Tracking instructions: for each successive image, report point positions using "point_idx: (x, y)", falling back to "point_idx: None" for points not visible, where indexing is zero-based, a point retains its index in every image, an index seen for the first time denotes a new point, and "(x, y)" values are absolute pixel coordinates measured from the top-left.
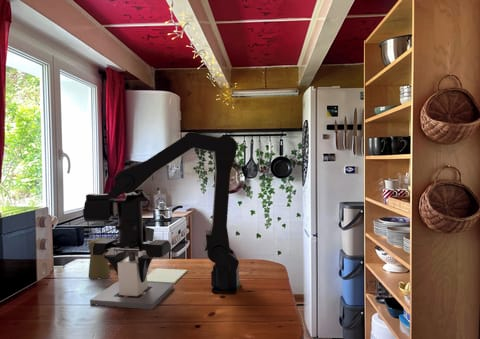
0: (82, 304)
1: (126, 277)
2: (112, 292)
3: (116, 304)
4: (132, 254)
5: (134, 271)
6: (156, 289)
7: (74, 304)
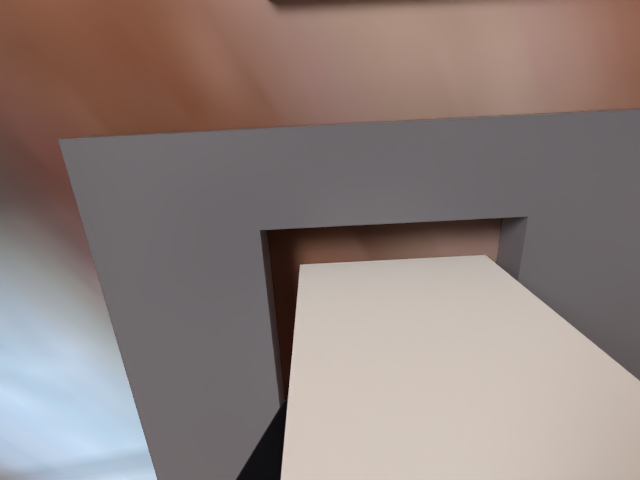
0: (121, 463)
1: None
2: (226, 381)
3: None
4: None
5: None
6: (582, 267)
7: (73, 471)
